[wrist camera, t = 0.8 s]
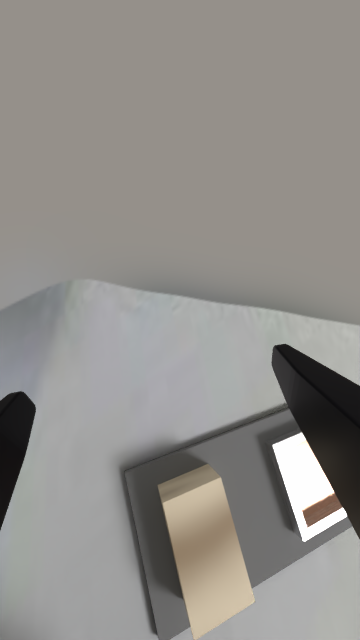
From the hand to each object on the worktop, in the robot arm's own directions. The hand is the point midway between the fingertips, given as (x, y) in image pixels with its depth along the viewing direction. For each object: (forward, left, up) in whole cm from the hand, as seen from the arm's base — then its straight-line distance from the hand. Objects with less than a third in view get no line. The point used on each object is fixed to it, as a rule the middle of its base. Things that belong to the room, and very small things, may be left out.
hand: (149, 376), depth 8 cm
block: (-11, -2, -10) cm, 15 cm away
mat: (-11, -9, -11) cm, 18 cm away
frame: (-11, -14, -10) cm, 20 cm away
